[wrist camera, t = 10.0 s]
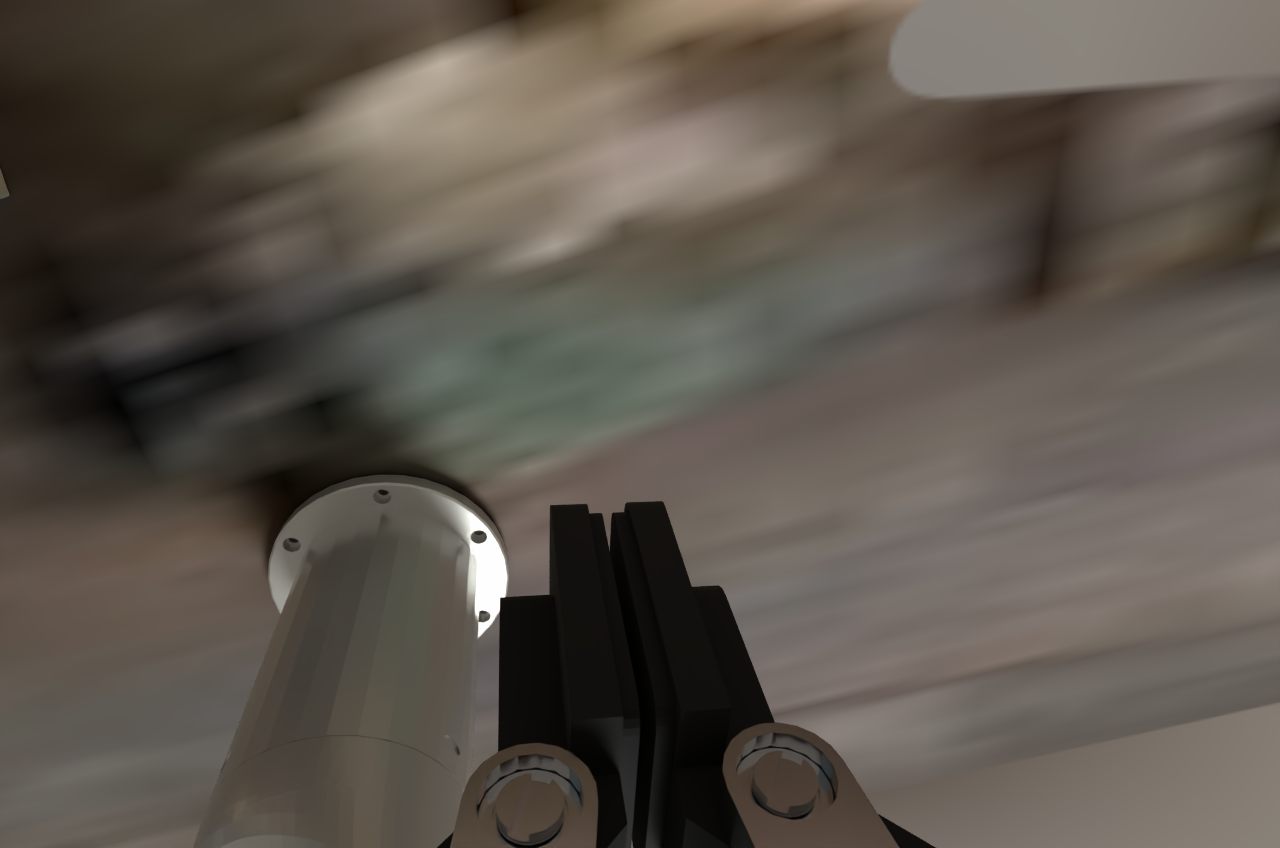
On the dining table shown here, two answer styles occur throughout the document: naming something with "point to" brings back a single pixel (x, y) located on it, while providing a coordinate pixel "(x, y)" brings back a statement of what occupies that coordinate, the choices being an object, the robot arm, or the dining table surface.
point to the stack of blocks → (3, 187)
